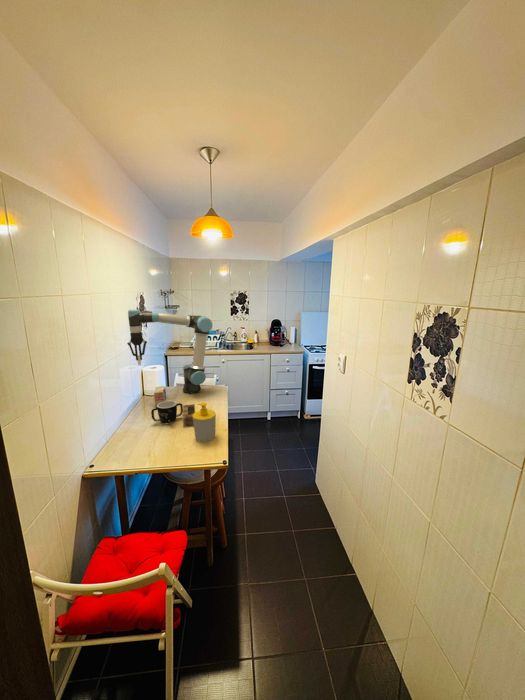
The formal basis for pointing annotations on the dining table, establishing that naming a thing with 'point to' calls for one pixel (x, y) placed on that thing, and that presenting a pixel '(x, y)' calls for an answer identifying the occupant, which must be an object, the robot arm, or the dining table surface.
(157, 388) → the stack of blocks
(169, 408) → the mug
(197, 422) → the soap bottle
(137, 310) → the robot arm
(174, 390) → the dining table surface
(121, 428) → the dining table surface
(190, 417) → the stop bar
